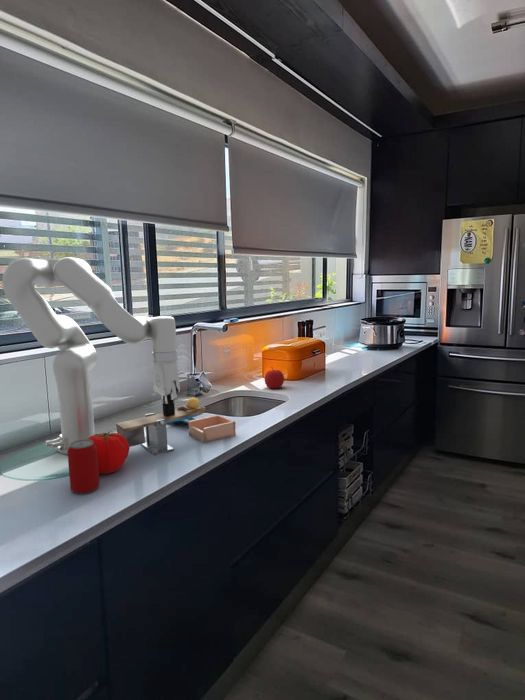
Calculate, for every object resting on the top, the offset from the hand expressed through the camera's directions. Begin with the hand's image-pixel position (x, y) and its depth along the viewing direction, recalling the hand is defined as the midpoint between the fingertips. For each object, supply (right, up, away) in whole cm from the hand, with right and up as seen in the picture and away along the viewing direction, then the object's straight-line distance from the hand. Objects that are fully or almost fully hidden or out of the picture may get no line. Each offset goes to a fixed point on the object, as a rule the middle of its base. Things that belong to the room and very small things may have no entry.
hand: (169, 415), depth 146 cm
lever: (-2, -6, 0) cm, 6 cm away
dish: (+12, -8, +10) cm, 18 cm away
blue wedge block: (+2, -7, +22) cm, 23 cm away
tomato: (-14, -13, -17) cm, 26 cm away
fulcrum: (-4, -10, -1) cm, 11 cm away
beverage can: (-15, -15, -29) cm, 36 cm away
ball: (+7, +3, +5) cm, 9 cm away
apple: (+35, +2, +75) cm, 83 cm away
